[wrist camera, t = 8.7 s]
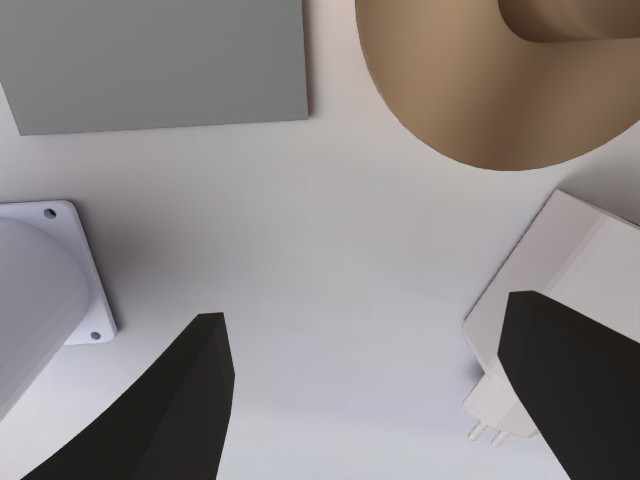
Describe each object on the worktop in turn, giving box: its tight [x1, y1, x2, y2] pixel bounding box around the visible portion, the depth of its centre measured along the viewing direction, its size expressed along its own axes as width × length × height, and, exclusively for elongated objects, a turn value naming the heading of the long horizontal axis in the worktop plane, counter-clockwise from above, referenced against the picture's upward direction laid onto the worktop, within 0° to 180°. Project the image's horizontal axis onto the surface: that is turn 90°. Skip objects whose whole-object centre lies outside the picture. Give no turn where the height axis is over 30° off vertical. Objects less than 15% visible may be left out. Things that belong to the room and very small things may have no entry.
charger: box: [461, 189, 640, 447], centre depth 21 cm, size 5×9×15 cm
